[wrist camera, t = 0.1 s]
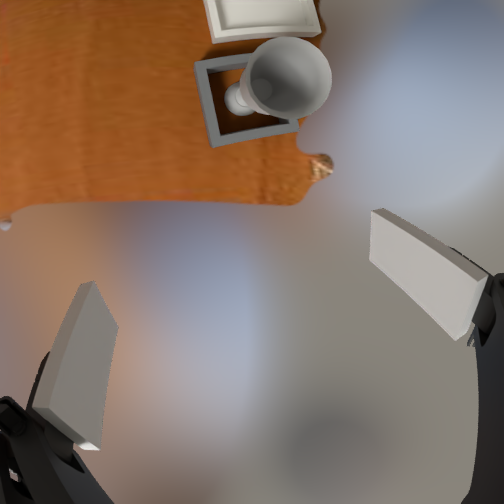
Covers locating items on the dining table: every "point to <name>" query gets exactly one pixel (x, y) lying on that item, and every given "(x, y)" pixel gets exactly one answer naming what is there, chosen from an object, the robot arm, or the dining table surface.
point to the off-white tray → (260, 19)
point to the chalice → (282, 80)
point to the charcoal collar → (209, 111)
